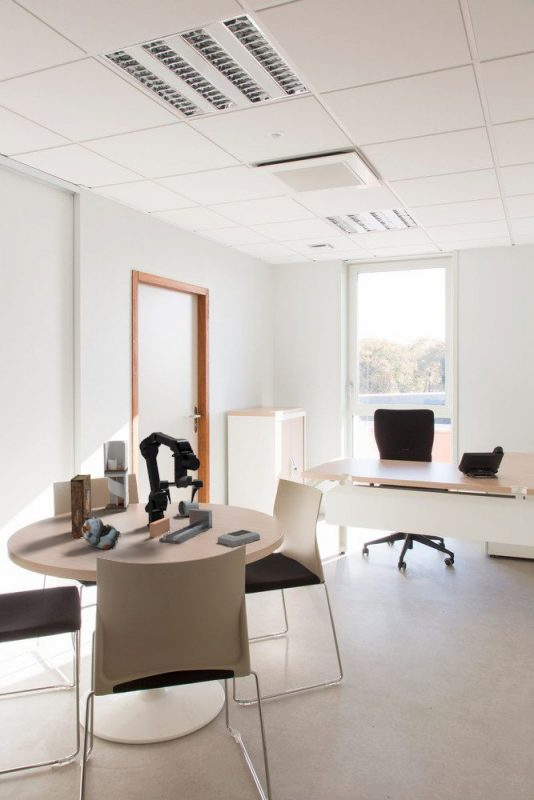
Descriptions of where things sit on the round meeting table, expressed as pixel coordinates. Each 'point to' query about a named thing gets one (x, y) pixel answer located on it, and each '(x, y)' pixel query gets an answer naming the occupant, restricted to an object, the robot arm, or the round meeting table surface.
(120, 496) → the grey shelving unit
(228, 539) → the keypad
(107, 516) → the round meeting table surface
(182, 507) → the ceramic mug
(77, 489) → the book
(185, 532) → the track base
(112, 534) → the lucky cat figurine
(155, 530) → the tan flat rectangular block
